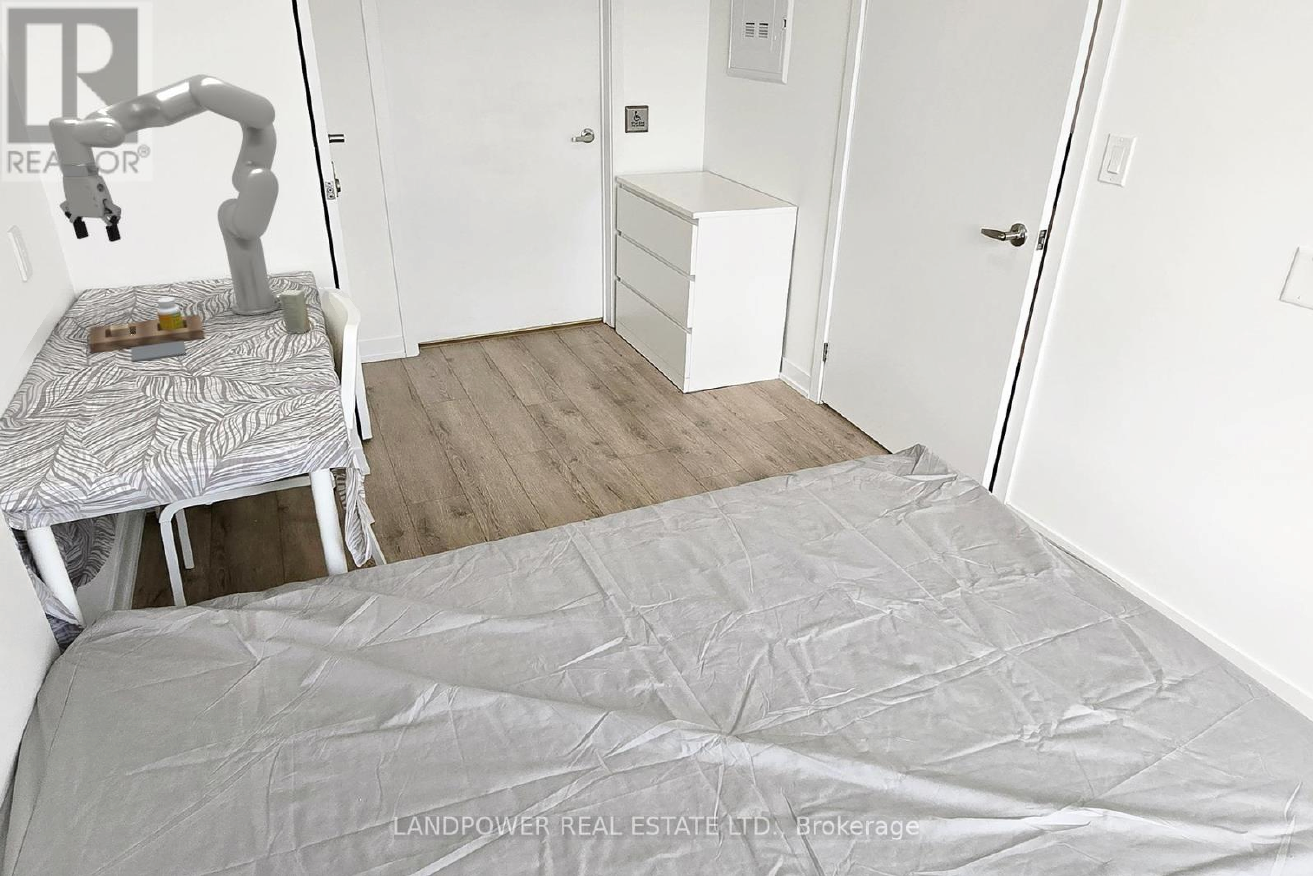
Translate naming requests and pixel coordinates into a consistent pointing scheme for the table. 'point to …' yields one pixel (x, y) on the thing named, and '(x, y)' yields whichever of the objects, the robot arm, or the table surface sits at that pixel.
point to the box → (294, 311)
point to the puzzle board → (144, 334)
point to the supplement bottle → (169, 314)
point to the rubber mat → (158, 351)
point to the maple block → (120, 330)
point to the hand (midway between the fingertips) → (99, 239)
